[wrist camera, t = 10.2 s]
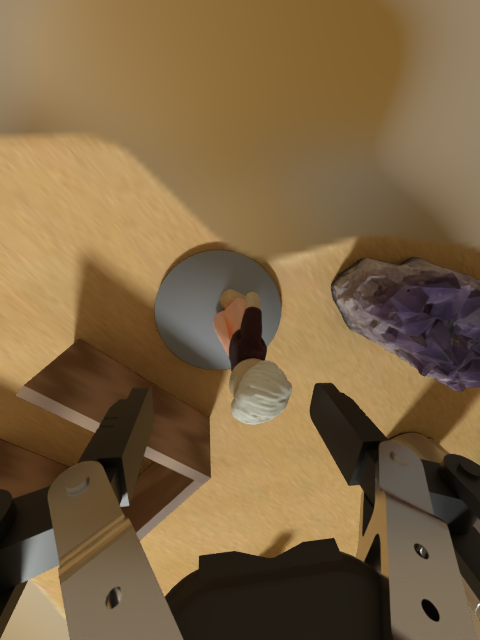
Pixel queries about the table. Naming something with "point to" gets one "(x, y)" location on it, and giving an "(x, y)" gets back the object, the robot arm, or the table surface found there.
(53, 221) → the table surface
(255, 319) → the grandmother figurine
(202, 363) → the pad
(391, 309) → the geode
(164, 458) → the u-shaped walnut enclosure
